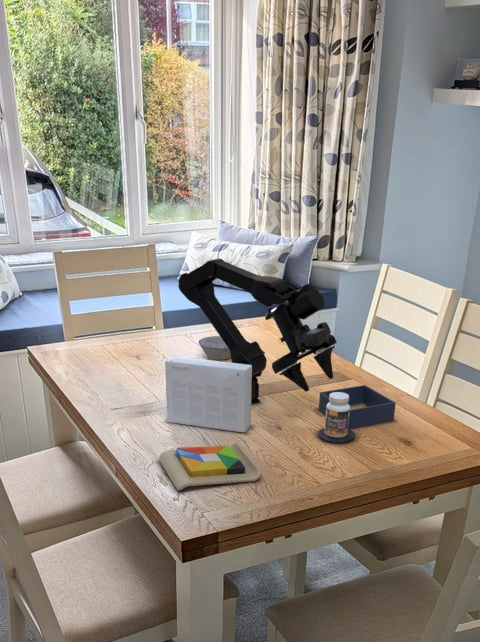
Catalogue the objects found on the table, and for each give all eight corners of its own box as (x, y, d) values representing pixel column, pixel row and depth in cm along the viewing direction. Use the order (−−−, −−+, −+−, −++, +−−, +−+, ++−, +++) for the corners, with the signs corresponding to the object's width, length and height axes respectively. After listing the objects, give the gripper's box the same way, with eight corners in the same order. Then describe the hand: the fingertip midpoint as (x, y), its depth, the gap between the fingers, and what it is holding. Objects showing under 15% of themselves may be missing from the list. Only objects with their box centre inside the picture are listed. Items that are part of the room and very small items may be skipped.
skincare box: (252, 425, 188) (253, 364, 180) (245, 433, 183) (245, 371, 176) (174, 414, 194) (172, 354, 186) (166, 422, 189) (163, 361, 181)
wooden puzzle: (263, 480, 162) (263, 466, 160) (178, 494, 156) (178, 479, 154) (236, 448, 176) (236, 434, 174) (157, 459, 170) (157, 445, 169)
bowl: (197, 350, 241) (197, 335, 239) (237, 349, 242) (237, 334, 240) (200, 363, 230) (199, 347, 227) (241, 362, 231) (241, 346, 229)
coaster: (329, 446, 177) (330, 444, 177) (311, 432, 184) (311, 430, 184) (362, 440, 181) (362, 438, 180) (342, 426, 188) (342, 424, 187)
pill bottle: (325, 438, 180) (328, 399, 175) (323, 429, 185) (325, 390, 180) (349, 438, 180) (352, 399, 175) (346, 429, 185) (349, 391, 180)
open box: (346, 429, 186) (348, 410, 184) (318, 410, 197) (319, 392, 195) (393, 420, 191) (395, 402, 189) (363, 402, 202) (365, 384, 200)
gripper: (285, 326, 173) (315, 387, 174) (336, 303, 183) (364, 361, 185) (258, 344, 182) (287, 401, 183) (308, 321, 192) (335, 376, 194)
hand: (319, 384), depth 186 cm, fingers open, 9 cm apart
